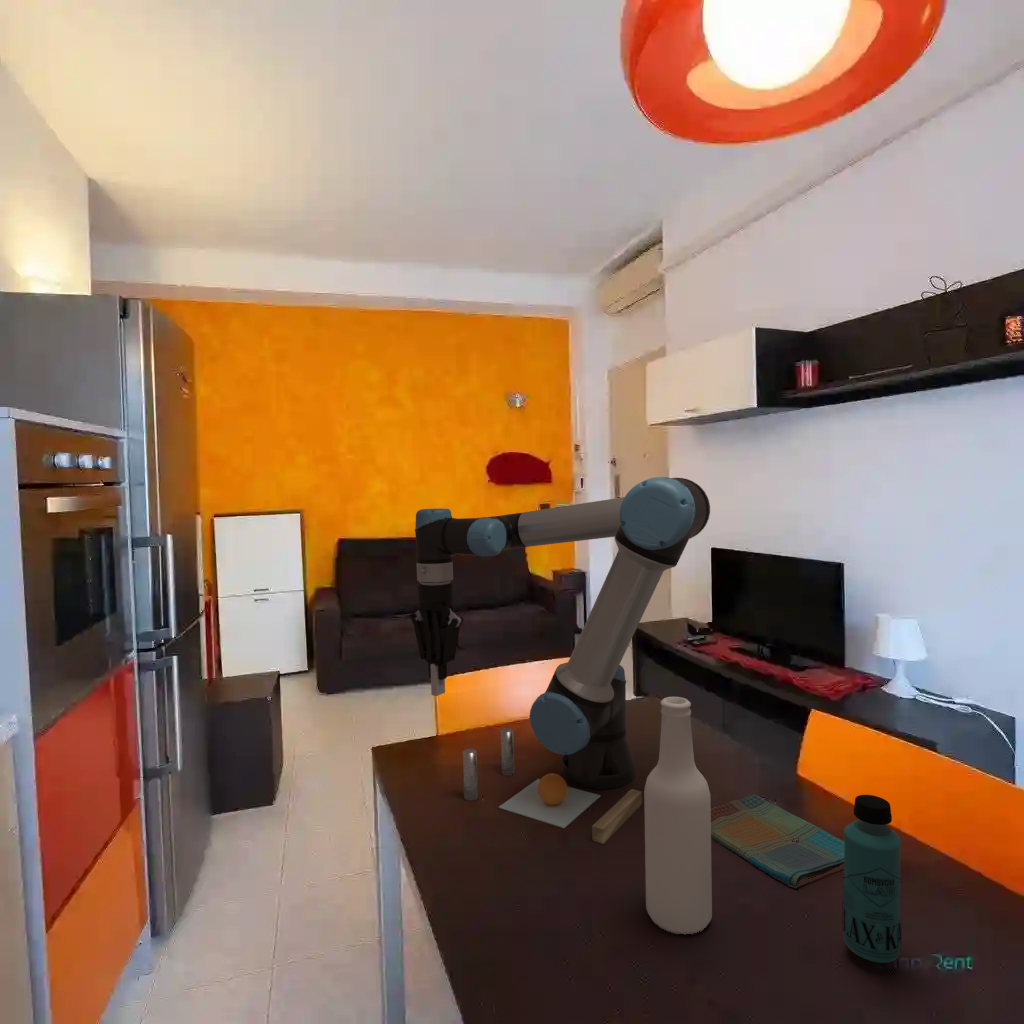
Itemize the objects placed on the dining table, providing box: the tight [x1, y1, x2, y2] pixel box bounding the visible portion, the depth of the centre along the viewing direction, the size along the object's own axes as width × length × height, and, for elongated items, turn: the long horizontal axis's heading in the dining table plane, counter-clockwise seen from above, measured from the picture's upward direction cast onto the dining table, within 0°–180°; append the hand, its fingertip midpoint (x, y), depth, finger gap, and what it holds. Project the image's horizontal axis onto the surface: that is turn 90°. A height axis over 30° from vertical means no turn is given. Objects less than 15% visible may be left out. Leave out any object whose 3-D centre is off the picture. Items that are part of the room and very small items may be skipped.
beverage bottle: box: [841, 794, 903, 964], centre depth 82 cm, size 6×7×20 cm
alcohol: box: [643, 696, 713, 936], centre depth 91 cm, size 9×9×30 cm
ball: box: [538, 772, 568, 805], centre depth 124 cm, size 6×6×6 cm
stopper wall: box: [591, 788, 643, 845], centre depth 117 cm, size 2×16×2 cm, turn 146°
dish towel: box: [711, 793, 845, 887], centre depth 110 cm, size 17×23×2 cm
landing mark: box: [498, 778, 601, 829], centre depth 125 cm, size 14×14×1 cm
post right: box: [500, 728, 515, 776], centre depth 138 cm, size 3×3×9 cm
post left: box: [462, 748, 479, 801], centre depth 128 cm, size 3×3×9 cm
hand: (438, 693), depth 140 cm, fingers closed
